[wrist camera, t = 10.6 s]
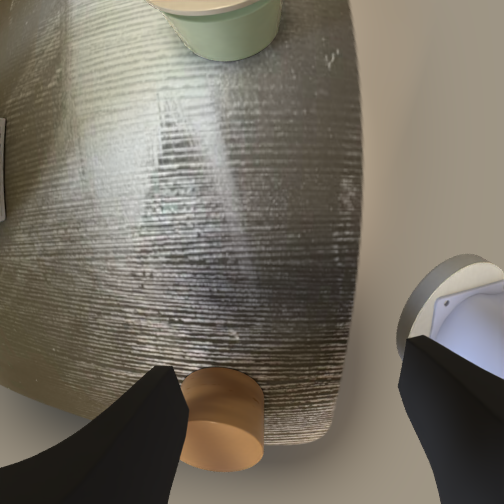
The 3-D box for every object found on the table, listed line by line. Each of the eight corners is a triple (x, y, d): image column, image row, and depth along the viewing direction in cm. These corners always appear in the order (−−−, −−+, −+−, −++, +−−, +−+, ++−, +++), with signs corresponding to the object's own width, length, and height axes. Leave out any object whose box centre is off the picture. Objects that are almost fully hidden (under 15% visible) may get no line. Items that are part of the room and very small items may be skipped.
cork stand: (258, 363, 20) (256, 419, 15) (268, 420, 22) (268, 471, 17) (170, 367, 21) (149, 418, 16) (193, 422, 23) (181, 470, 17)
